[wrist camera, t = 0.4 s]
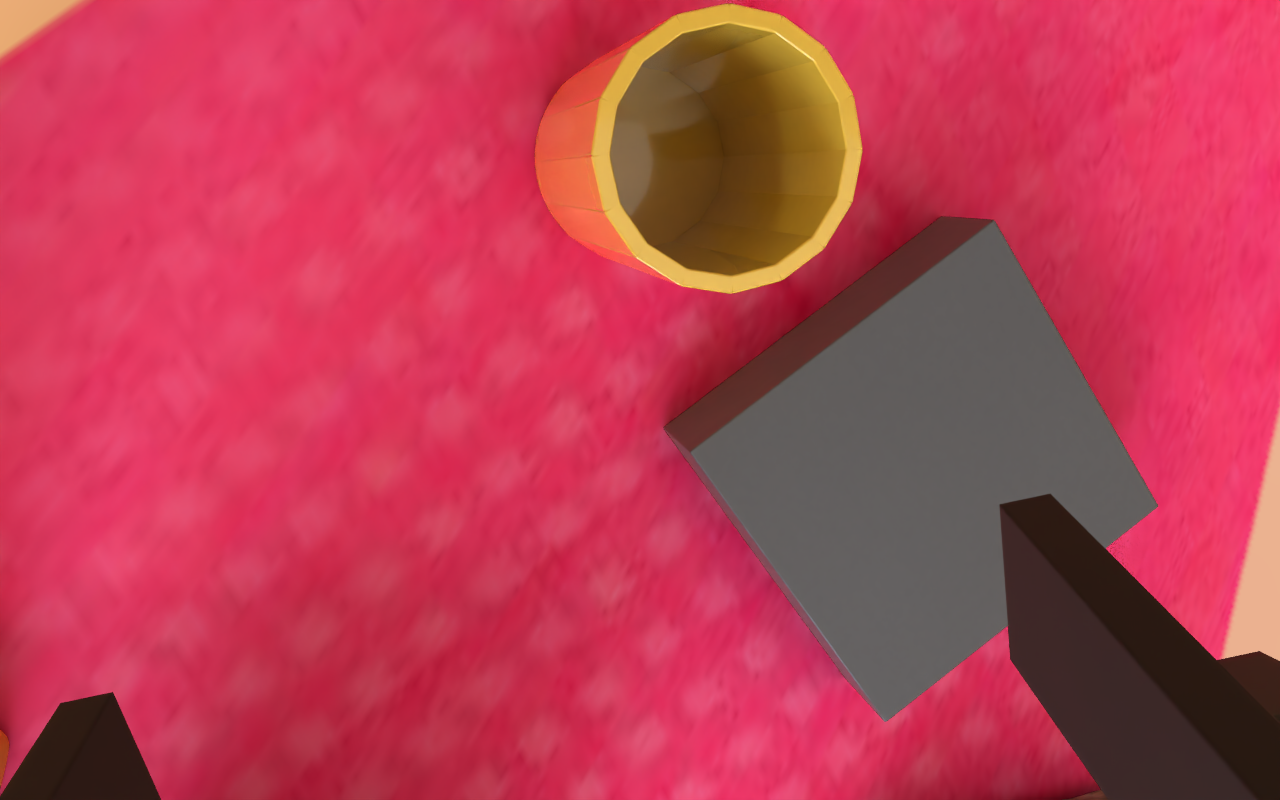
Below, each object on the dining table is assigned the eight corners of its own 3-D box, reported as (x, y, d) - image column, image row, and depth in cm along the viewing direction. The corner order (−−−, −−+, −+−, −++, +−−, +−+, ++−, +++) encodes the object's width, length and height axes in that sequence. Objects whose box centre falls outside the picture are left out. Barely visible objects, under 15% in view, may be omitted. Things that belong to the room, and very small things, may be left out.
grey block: (662, 427, 43) (689, 452, 39) (941, 215, 44) (994, 219, 40) (845, 678, 47) (885, 723, 43) (1097, 479, 48) (1159, 506, 44)
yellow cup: (493, 133, 39) (536, 115, 28) (657, 13, 40) (767, -53, 28) (611, 298, 41) (696, 345, 30) (766, 183, 42) (908, 185, 30)
